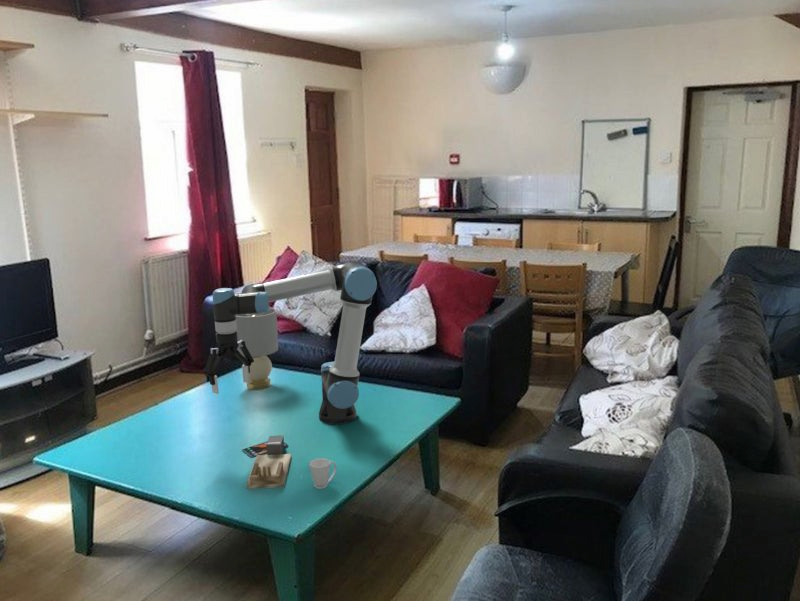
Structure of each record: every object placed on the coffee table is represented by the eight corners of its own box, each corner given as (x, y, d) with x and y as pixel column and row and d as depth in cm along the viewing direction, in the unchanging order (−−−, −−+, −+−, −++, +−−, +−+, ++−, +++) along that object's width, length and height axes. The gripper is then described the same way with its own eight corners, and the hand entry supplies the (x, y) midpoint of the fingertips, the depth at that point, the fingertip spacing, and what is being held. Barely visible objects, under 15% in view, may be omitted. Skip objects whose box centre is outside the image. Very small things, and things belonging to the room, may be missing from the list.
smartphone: (241, 449, 252) (278, 437, 261) (241, 452, 252) (278, 440, 261) (250, 456, 246) (288, 444, 254) (251, 459, 246) (288, 447, 255)
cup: (305, 485, 225) (304, 462, 223) (329, 475, 232) (328, 452, 230) (319, 493, 220) (317, 469, 218) (343, 482, 227) (342, 459, 225)
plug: (284, 448, 254) (283, 434, 252) (281, 457, 246) (280, 443, 245) (270, 448, 254) (269, 435, 252) (267, 458, 246) (266, 444, 245)
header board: (291, 457, 246) (290, 438, 244) (283, 487, 224) (282, 467, 223) (257, 458, 245) (255, 439, 244) (246, 488, 224) (244, 468, 222)
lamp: (229, 392, 311) (223, 316, 303) (246, 378, 330) (240, 305, 322) (272, 394, 308) (267, 317, 300) (286, 379, 327) (282, 306, 319)
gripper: (248, 322, 261) (252, 376, 266) (190, 337, 243) (195, 395, 247) (260, 325, 256) (264, 380, 261) (202, 341, 238) (208, 399, 243)
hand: (231, 387), depth 254 cm, fingers open, 13 cm apart
